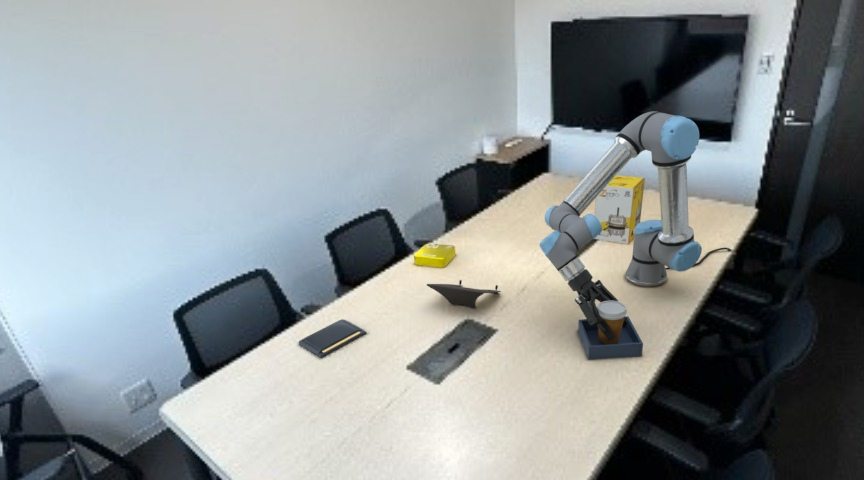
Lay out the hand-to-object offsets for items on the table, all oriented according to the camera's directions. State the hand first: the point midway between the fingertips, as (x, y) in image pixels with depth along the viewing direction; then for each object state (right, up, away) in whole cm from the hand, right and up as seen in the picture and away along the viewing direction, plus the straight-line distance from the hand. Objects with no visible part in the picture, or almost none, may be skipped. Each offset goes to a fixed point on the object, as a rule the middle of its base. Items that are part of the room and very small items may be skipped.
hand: (619, 331), depth 170 cm
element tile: (-61, +33, +71) cm, 99 cm away
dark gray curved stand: (-47, +12, +36) cm, 61 cm away
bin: (-2, -4, +5) cm, 6 cm away
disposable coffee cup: (-2, -3, +4) cm, 5 cm away
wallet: (-96, -2, +21) cm, 98 cm away
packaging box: (+23, +46, +78) cm, 93 cm away
